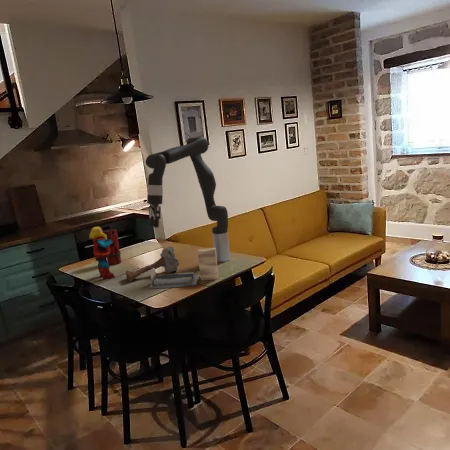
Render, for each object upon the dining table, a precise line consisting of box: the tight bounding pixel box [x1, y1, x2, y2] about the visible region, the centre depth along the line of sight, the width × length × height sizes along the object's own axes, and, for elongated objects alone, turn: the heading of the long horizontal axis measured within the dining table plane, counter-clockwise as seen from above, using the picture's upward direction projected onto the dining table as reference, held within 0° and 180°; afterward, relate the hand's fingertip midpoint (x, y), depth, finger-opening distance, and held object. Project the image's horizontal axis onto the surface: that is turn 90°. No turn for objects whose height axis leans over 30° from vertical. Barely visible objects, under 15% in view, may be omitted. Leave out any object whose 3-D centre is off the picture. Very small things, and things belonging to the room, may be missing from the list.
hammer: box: [125, 246, 180, 283], centre depth 228 cm, size 15×10×30 cm
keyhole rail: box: [149, 268, 200, 290], centre depth 213 cm, size 14×24×8 cm, turn 87°
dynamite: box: [102, 218, 122, 266], centre depth 257 cm, size 10×9×30 cm
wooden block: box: [197, 247, 219, 281], centre depth 214 cm, size 4×9×16 cm, turn 87°
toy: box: [88, 226, 117, 281], centre depth 230 cm, size 15×15×30 cm
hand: (154, 226), depth 204 cm, fingers open, 8 cm apart
